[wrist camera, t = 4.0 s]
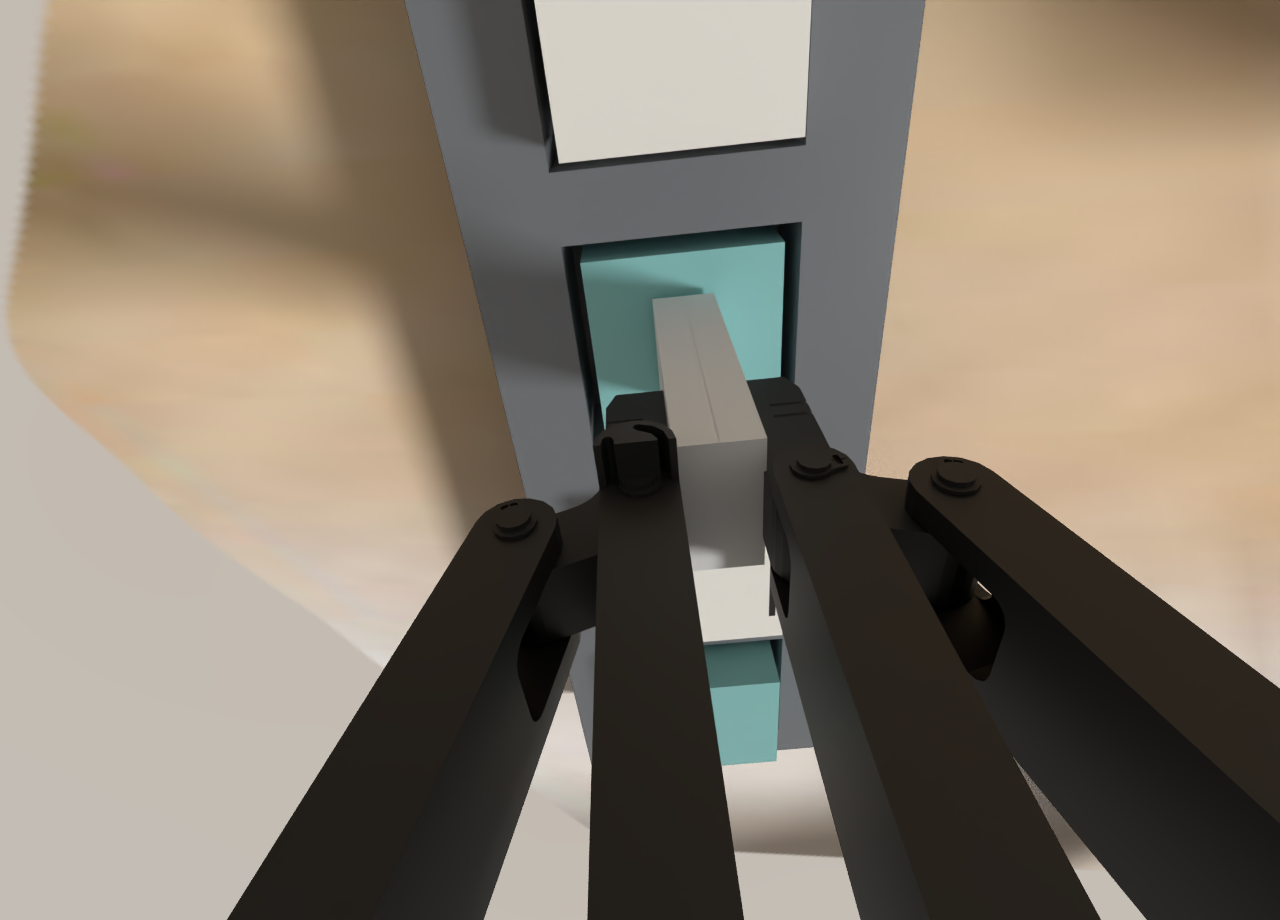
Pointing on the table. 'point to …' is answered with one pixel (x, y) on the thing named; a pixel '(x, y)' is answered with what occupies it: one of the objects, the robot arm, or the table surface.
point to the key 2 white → (735, 602)
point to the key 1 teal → (744, 700)
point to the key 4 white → (673, 73)
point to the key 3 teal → (680, 266)
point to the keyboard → (662, 206)
